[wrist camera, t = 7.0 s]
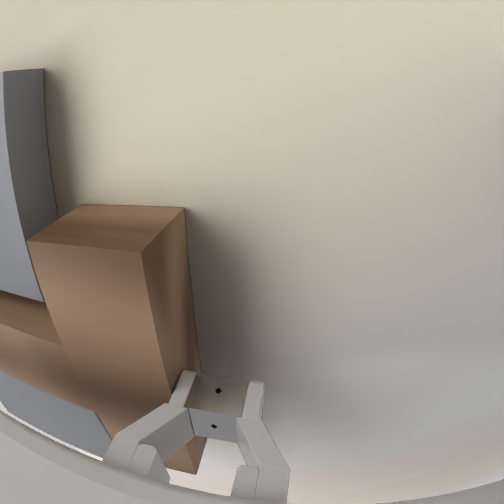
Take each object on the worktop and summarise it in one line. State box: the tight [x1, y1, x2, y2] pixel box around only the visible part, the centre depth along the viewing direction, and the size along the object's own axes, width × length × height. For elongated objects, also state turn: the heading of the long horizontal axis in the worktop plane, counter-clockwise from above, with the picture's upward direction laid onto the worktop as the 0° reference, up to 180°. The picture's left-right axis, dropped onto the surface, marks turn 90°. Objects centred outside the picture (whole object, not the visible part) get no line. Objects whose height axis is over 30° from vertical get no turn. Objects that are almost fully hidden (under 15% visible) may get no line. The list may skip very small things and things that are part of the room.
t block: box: [0, 205, 207, 475], centre depth 12 cm, size 12×12×3 cm
